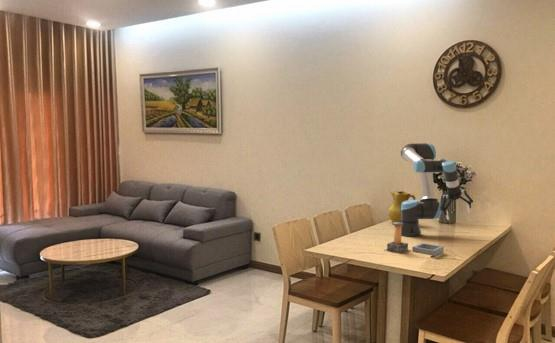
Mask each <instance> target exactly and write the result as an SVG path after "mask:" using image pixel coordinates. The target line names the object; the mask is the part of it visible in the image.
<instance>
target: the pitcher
mask: <svg viewBox="0 0 555 343" xmlns="http://www.w3.org/2000/svg"><path fill="white" fill-rule="evenodd" d="M390 194H391V196H392V204H391V206H390V207H389V209H388V212H387V214H388V216H389V220H390V221H391V223H392V225H393V223H394V222H401V205H402V202H404V201H408V200H410V198H412V200H416V196H415V194H412V193H411V192H409V191H404V190H401V191H391V192H390Z"/></svg>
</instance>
